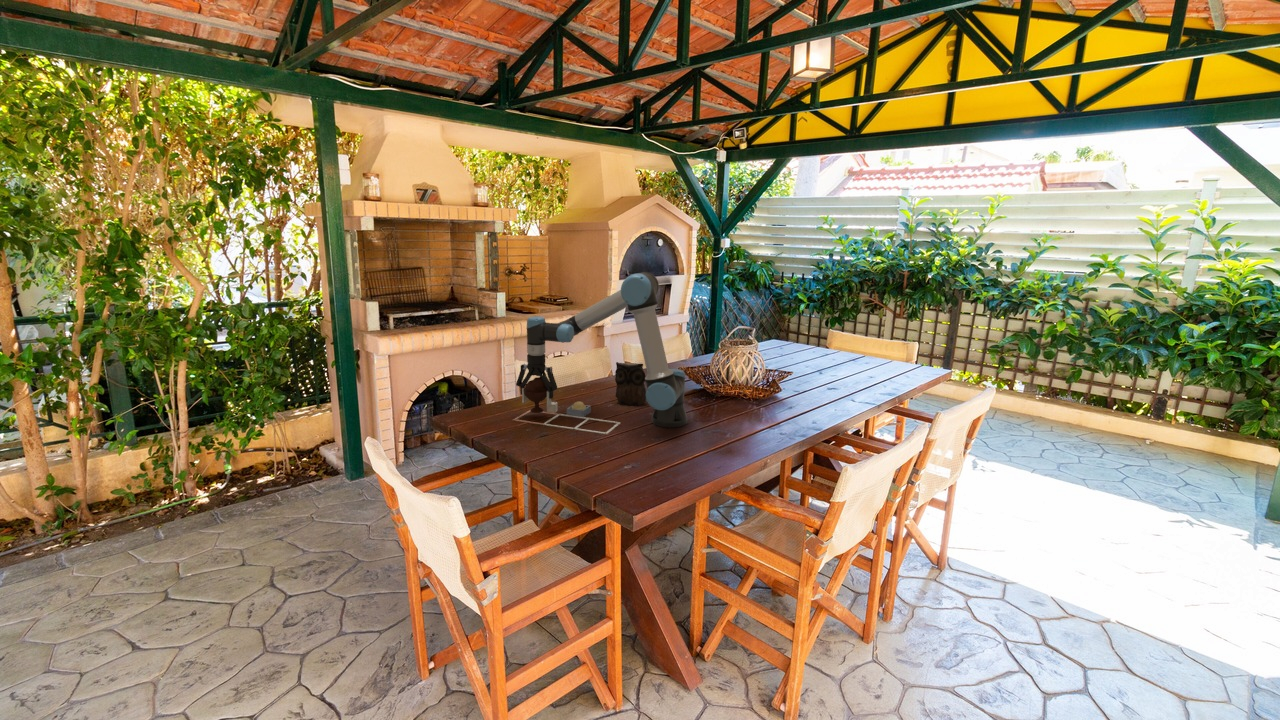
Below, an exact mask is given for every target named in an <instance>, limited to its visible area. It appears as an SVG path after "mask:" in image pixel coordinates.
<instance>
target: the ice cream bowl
mask: <svg viewBox="0 0 1280 720" xmlns="http://www.w3.org/2000/svg"><path fill="white" fill-rule="evenodd" d="M523 391H524V394H525V396H526V397H527V400H529V401H531V402H533V403H534V407H533V408H531V409H530V410H531V412H530V413H534V414H539V413H540V412H545V410H544V409H543V408H541V407H540V402H543V401H544V400H545V399H547V391H548V389H547V387H546V385H545V384H544V382H543V380H542V379H541V378H540V376H535V377H534V378H533V379H532V380H531V379H530V380H529V381H528V382H527V384H526V385H525V389H524V390H523ZM540 414H541V413H540Z"/></svg>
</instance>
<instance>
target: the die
mask: <svg viewBox="0 0 1280 720" xmlns="http://www.w3.org/2000/svg"><path fill="white" fill-rule="evenodd" d="M558 408H559V406H558V402H557V401H552V405H551V406H549V407H547V406H546V412H550V413H558Z"/></svg>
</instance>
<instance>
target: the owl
mask: <svg viewBox="0 0 1280 720" xmlns="http://www.w3.org/2000/svg"><path fill="white" fill-rule="evenodd" d="M615 363H616V364H615V365H616V370H615V372H614V373H615V378H614V381H615V383H616V389H615V390H616V391H615V398H616V399H617V403H616V404H618V405H620V406H623V407H624V406H627V407H642V406H645V402H646V401H647V400H646V390H647V387H646V384H645V383H646V381H645V377H646V373H645V371H644V368H643V367H644V363H635V362H619V361H616V362H615Z"/></svg>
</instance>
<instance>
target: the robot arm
mask: <svg viewBox="0 0 1280 720" xmlns="http://www.w3.org/2000/svg"><path fill="white" fill-rule="evenodd" d="M659 289H660V284H659V281H658V279H657V277H656V276H655V275H654V274H653V273H650V272H647V271H642V272H638V273H637V272H636V273H633V274H629V276H627V277H626V278H625V279H624V280H623V282H622V284H621V287H620V290H617V291H616V292H615V293H612V294H610V295H609V296H607V297H605V298H603V299H602V300H599V301H598V302H596V303H594V304H592V305H591V306H589V307H586V308H585V309H584V310H582V311H580V312H578V313H576V314H575V315H573V316H571V317H569V318H567V319H566V320H562V321H559V322H546V318H545V317H543V316H530V317H528V318H527V319H526V352H527V355H526V362H527V364H526V363H523V364H521V365H520V371H519V374H518V377H517V380H516V383H515V385H516V387H519V389H520V396H521V399H522V400H521V401H522V402H521V403H522V404H526V403H527V402H528V398H527V397H526V396H525V394H524V391H523V390H524V389H525V386H526V384H527V383H528V382H529V381H530V380H531V377H532V376H533V377H534V376H535V377H540V378H541V379H542V380H543V382H544V384H545V385H546V387H547V389H548V391H547V397H546V408H547V407H549V406H551V405H552V402H553V401H552V399H553V398H554V391H556V390H558V386H557V382H556V379H555V376H554V373H553V372H554V371H553V367H552V366H546V354H545V353H546V341H547V342H553V343H554V342H555V343H556V342H557V343H570V342H572V341H573V340H574V337H575V336H577V335H579V334H580V333H583V331H585V330H587V329H589V328H590V327H593V326H594V325H596V324H598V323H600V322H602V321H604V320H606V319H608V318H609V317H612V316H613V315H615V314H617V313H619V312H620V311H622V310H624V309H626V308H627V311H628V312H629V313H631V314H632V315H633V317H634V322H635V326H636V330H637V335H638V339H639V343H640V347H641V351H642V355H643V356H642V357H643V360H644V365H645V368H646V373H647V374H645V376H646V377H645V387H646V400H645V401H646V403H647V404H648V406H650V407H651V408H653V412H652V415H651V423H652V424H653V425H655V426H658V427H662V428H681V427H684V426H686V425H688V416H687V412H686V409H685V405H684V404H685V387H686V386H685V384H686V383H685V382H686V372H685V371H684V370H683V369H677V368H669V365H668V359H667V355H666V352H665V346H664V344H663V342H664V341H663V338H662V334H661V328H660V326H659V321H658V317H657V312H656V308H657V306H658V305H659V304H658V300H657V294H658V292H659ZM526 370H527V371H528V372H527V373H526ZM525 374H526V376H525Z"/></svg>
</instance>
